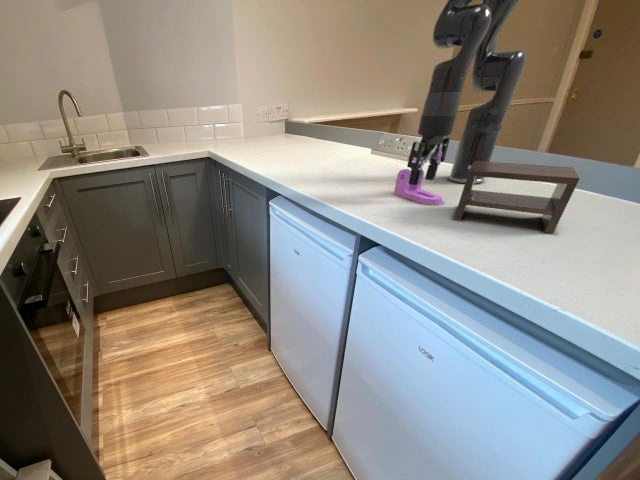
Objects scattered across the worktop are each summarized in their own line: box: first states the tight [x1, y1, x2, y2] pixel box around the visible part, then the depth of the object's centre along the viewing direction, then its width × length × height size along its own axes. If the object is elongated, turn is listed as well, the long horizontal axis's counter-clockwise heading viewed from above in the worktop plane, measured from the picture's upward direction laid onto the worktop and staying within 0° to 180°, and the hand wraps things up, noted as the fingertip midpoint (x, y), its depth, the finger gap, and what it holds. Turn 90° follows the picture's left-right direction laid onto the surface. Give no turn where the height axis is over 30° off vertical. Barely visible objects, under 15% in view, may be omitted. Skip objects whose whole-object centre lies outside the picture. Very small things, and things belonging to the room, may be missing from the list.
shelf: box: [453, 161, 580, 234], centre depth 75 cm, size 11×18×11 cm, turn 55°
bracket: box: [393, 168, 443, 206], centre depth 91 cm, size 13×6×7 cm, turn 20°
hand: (421, 182), depth 91 cm, fingers open, 8 cm apart
